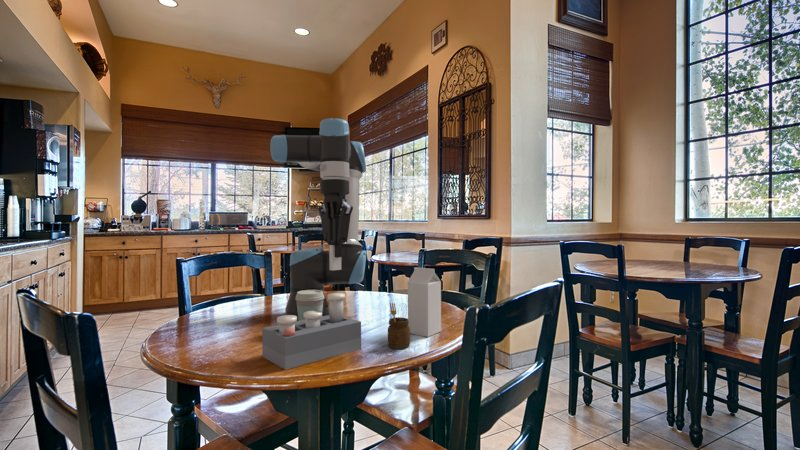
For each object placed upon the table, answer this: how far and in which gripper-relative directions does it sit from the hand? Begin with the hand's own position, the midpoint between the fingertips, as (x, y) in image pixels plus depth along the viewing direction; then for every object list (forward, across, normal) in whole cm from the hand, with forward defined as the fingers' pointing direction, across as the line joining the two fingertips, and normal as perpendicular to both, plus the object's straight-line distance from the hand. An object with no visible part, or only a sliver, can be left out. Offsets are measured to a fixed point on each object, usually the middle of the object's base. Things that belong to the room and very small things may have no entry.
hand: (335, 269), depth 105 cm
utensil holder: (+21, +11, +12) cm, 26 cm away
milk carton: (+21, +7, +26) cm, 34 cm away
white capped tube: (+17, 0, -14) cm, 22 cm away
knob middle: (+17, 0, -7) cm, 19 cm away
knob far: (+14, 0, 0) cm, 14 cm away
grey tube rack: (+20, 0, -7) cm, 21 cm away
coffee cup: (+20, -17, +2) cm, 27 cm away
